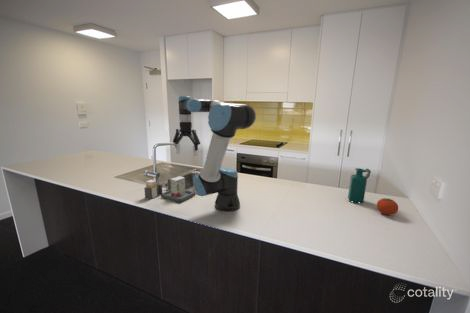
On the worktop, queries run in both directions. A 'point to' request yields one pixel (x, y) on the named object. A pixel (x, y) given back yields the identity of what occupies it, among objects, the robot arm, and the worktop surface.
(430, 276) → the worktop surface
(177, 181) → the ink box
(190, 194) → the tray
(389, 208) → the tomato
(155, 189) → the clip holder
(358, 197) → the green bottle
